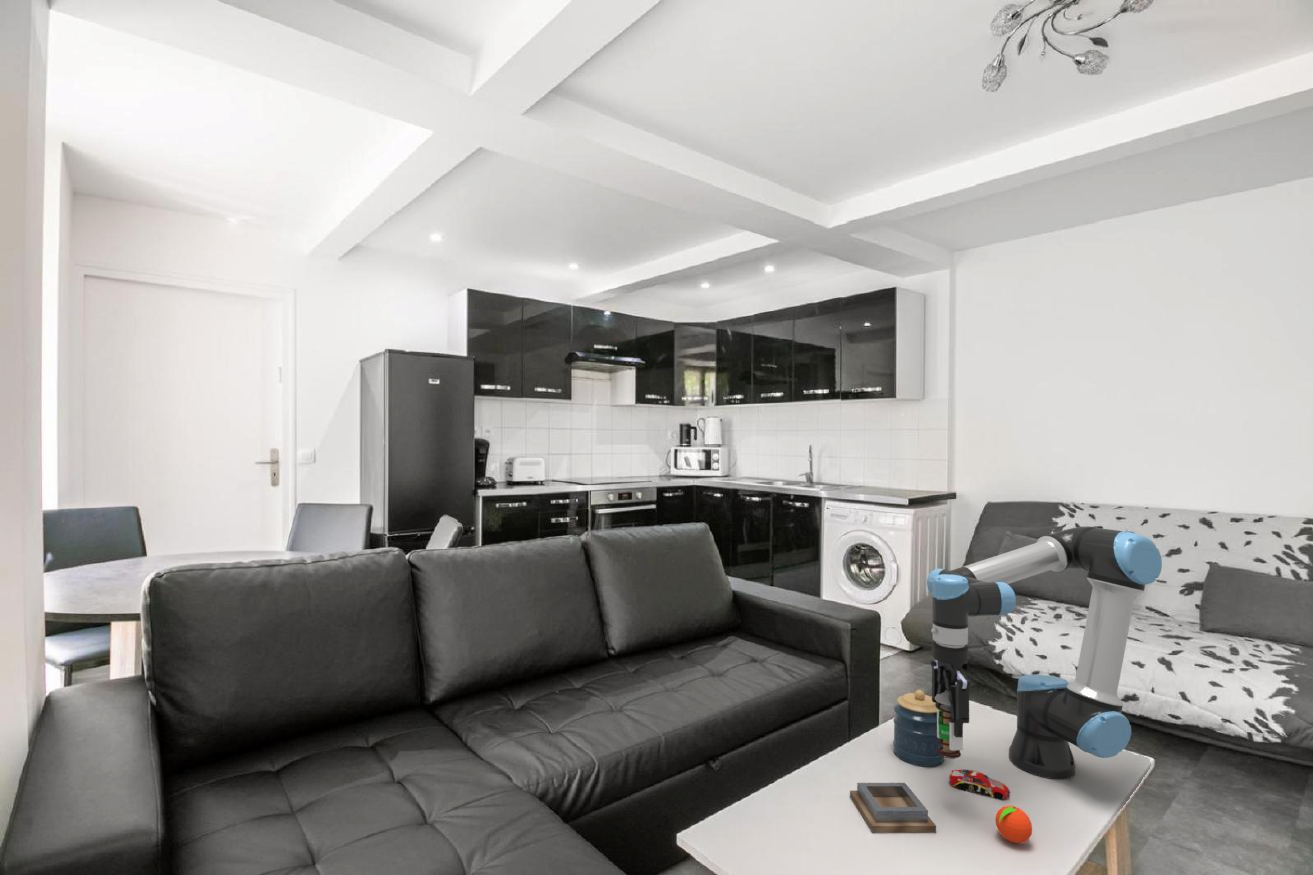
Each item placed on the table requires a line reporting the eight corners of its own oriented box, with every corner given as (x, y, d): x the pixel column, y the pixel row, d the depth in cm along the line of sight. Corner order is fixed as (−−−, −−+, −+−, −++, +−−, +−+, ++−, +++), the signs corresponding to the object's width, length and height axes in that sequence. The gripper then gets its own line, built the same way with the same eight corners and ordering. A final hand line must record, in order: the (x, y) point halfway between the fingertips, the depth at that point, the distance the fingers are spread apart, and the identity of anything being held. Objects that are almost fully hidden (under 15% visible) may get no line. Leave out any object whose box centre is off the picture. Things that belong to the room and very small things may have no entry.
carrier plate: (907, 796, 152) (907, 790, 152) (936, 832, 138) (936, 825, 138) (849, 796, 152) (850, 790, 152) (872, 833, 138) (872, 826, 138)
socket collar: (904, 793, 151) (905, 782, 151) (927, 822, 139) (928, 810, 139) (857, 793, 150) (857, 782, 150) (876, 822, 139) (876, 811, 139)
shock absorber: (930, 757, 147) (930, 692, 147) (939, 747, 152) (939, 684, 152) (960, 766, 143) (960, 699, 143) (967, 755, 148) (968, 691, 148)
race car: (1009, 793, 155) (1010, 777, 155) (1009, 804, 151) (1010, 787, 151) (950, 778, 162) (950, 762, 162) (948, 788, 157) (948, 771, 157)
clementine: (1013, 855, 131) (1014, 820, 131) (984, 836, 138) (984, 802, 138) (1039, 846, 134) (1040, 812, 134) (1009, 827, 141) (1010, 795, 141)
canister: (948, 752, 175) (949, 688, 175) (940, 772, 164) (941, 704, 164) (898, 740, 182) (899, 678, 182) (888, 758, 171) (889, 692, 171)
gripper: (916, 631, 157) (916, 726, 157) (954, 656, 139) (953, 763, 138) (946, 631, 157) (945, 725, 157) (987, 656, 139) (987, 762, 139)
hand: (949, 743), depth 148 cm, fingers closed on shock absorber, 5 cm apart
